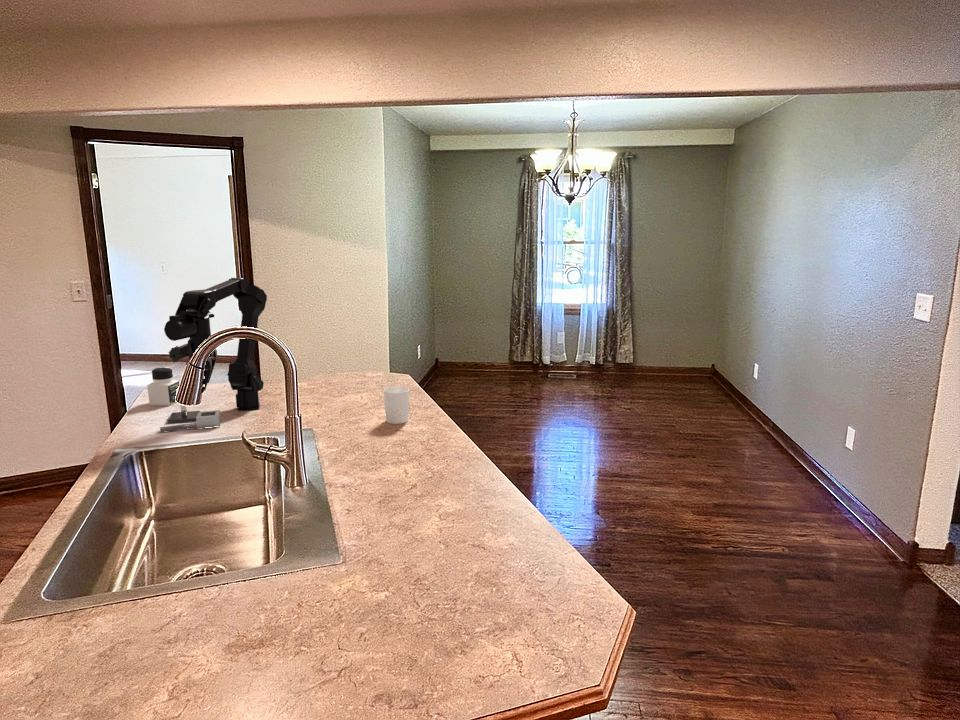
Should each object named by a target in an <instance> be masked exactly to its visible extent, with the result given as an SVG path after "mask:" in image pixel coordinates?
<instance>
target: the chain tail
mask: <svg viewBox="0 0 960 720" xmlns="http://www.w3.org/2000/svg"><path fill="white" fill-rule="evenodd" d="M194 427H195V422H192V423H191V422H189V423H185V424H176V425H174V424H173V425H168V426H166V425H165V426H160V427H159V431H160V432H162V433H165V432H164V431H170V432H174V431H178V430H177V429H181V430H183V429H186V430H188V429H187V428H194ZM194 429H195V428H194Z"/></svg>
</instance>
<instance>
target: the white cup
mask: <svg viewBox="0 0 960 720" xmlns="http://www.w3.org/2000/svg"><path fill="white" fill-rule="evenodd" d="M383 401H384V402H383V403H384V411H385V420H386V423H388V424H391V425H392V424H394V425H401V424H406V423H407V422H409V412H410V411H409V410H410V388H409V387H407V386H401V385H397V386H395V385H394V386H387V387H386V388H385V387H384V389H383Z"/></svg>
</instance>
